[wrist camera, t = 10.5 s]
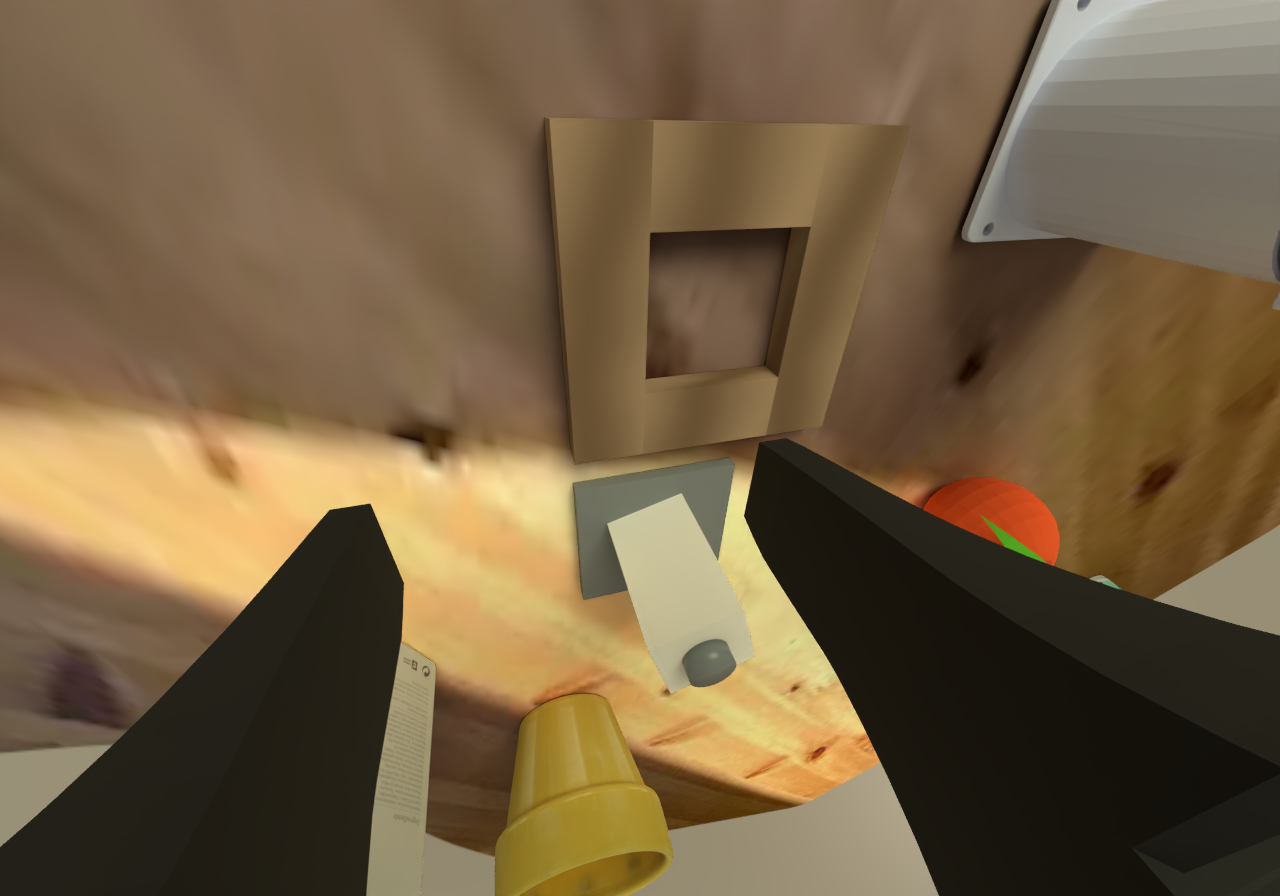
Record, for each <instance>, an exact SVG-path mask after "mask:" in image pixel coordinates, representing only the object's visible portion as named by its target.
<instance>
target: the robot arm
mask: <svg viewBox="0 0 1280 896" xmlns="http://www.w3.org/2000/svg"><path fill="white" fill-rule="evenodd" d="M1078 1H1079V4H1078ZM1077 4H1078V5H1077ZM985 226H986V227H985ZM984 228H985V229H984ZM983 230H984V231H983ZM1069 237H1071V238H1076V239H1080V240H1084V241H1089V242H1093V243H1098V244H1102V245H1107V246H1111V247H1116V248H1120V249H1125V250H1129V251H1134V252H1138V253H1142V254H1147V255H1151V256H1156V257H1160V258H1165V259H1169V260H1174V261H1178V262H1183V263H1187V264H1192V265H1196V266H1200V267H1205V268H1209V269H1214V270H1218V271H1223V272H1227V273H1232V274H1236V275H1241V276H1245V277H1250V278H1254V279H1258V280H1263V281H1267V282H1272V283H1276V284H1280V0H1052V1H1051V3H1050V6H1049V8H1048V11H1047V13H1046V16H1045V18H1044V21H1043V24H1042V26H1041V29H1040V31H1039V34H1038V36H1037V39H1036V42H1035V44H1034V47H1033V49H1032V52H1031V54H1030V57H1029V60H1028V62H1027V65H1026V67H1025V70H1024V72H1023V75H1022V77H1021V80H1020V83H1019V85H1018V88H1017V90H1016V93H1015V95H1014V98H1013V101H1012V103H1011V106H1010V108H1009V111H1008V113H1007V116H1006V119H1005V121H1004V124H1003V126H1002V129H1001V131H1000V134H999V136H998V139H997V142H996V144H995V147H994V149H993V152H992V154H991V157H990V160H989V162H988V165H987V167H986V170H985V172H984V175H983V178H982V180H981V183H980V185H979V188H978V190H977V193H976V195H975V198H974V201H973V203H972V206H971V208H970V211H969V213H968V216H967V219H966V221H965V224H964V226H963V229H962V238H963V240H965V241H969V242H992V241H1011V240H1030V239H1050V238H1069ZM1272 308H1273V309H1277V310H1280V290H1279V293H1278V295H1277V297H1276V298H1275V300H1274V302H1273V303H1272ZM744 517H745V519H746V522H747V524H748V526H749V528H750V531H751V533H752V535H753V537H754V540H755V542H756V544H757V546H758V548H759V550H760V552H761V554H762V556H763V558H764V560H765V561H766V563H767V565H768V566H769V568H770V570H771V571H772V573H773V574H774V576H775V577H776V579H777V581H778V582H779V584H780V585H781V587H782V589H783V590H784V592H785V593H786V595H787V596H788V598H789V599H790V601H791V603H792V604H793V606H794V607H795V609H796V610H797V612H798V613H799V615H800V616H801V618H802V620H803V621H804V623H805V624H806V626H807V627H808V629H809V630H810V632H811V634H812V635H813V637H814V638H815V640H816V641H817V643H818V644H819V646H820V648H821V649H822V651H823V652H824V654H825V656H826V657H827V659H828V661H829V662H830V664H831V666H832V667H833V669H834V671H835V672H836V674H837V676H838V678H839V680H840V682H841V684H842V686H843V688H844V690H845V692H846V693H847V695H848V697H849V699H850V701H851V703H852V705H853V707H854V709H855V711H856V713H857V715H858V717H859V719H860V721H861V722H862V724H863V727H864V729H865V731H866V733H867V735H868V737H869V739H870V741H871V743H872V745H873V747H874V749H875V751H876V753H877V756H878V758H879V760H880V762H881V764H882V766H883V768H884V770H885V772H886V774H887V776H888V778H889V780H890V783H891V785H892V787H893V790H894V792H895V794H896V796H897V798H898V801H899V803H900V805H901V807H902V809H903V812H904V814H905V816H906V819H907V821H908V823H909V825H910V827H911V830H912V832H913V834H914V836H915V839H916V841H917V843H918V846H919V848H920V851H921V853H922V855H923V858H924V860H925V863H926V865H927V867H928V870H929V872H930V875H931V877H932V880H933V882H934V885H935V887H936V889H937V892H938V894H939V896H1280V636H1279V635H1275V634H1271V633H1267V632H1263V631H1259V630H1255V629H1251V628H1248V627H1244V626H1240V625H1236V624H1232V623H1229V622H1225V621H1222V620H1218V619H1215V618H1211V617H1208V616H1205V615H1201V614H1198V613H1194V612H1191V611H1188V610H1185V609H1181V608H1178V607H1174V606H1171V605H1168V604H1164V603H1161V602H1157V601H1154V600H1151V599H1148V598H1145V597H1142V596H1139V595H1136V594H1133V593H1130V592H1126V591H1123V590H1120V589H1117V588H1114V587H1111V586H1108V585H1105V584H1103V583H1100V582H1097V581H1094V580H1091V579H1088V578H1086V577H1083V576H1080V575H1077V574H1074V573H1071V572H1069V571H1066V570H1063V569H1060V568H1057V567H1055V566H1052V565H1049V564H1047V563H1044V562H1041V561H1039V560H1036V559H1034V558H1031V557H1028V556H1026V555H1024V554H1021V553H1019V552H1016V551H1014V550H1011V549H1009V548H1007V547H1004V546H1002V545H999V544H997V543H995V542H992V541H990V540H987V539H985V538H983V537H980V536H978V535H976V534H973V533H971V532H969V531H967V530H964V529H962V528H960V527H958V526H956V525H954V524H952V523H949V522H947V521H945V520H943V519H941V518H939V517H937V516H935V515H933V514H931V513H929V512H927V511H925V510H922V509H920V508H918V507H916V506H914V505H912V504H910V503H908V502H907V501H905V500H903V499H901V498H899V497H897V496H895V495H893V494H891V493H889V492H887V491H885V490H883V489H882V488H880V487H878V486H876V485H874V484H872V483H870V482H868V481H867V480H865V479H863V478H861V477H859V476H857V475H856V474H854V473H852V472H850V471H848V470H846V469H845V468H843V467H841V466H839V465H837V464H835V463H834V462H832V461H830V460H828V459H826V458H824V457H823V456H821V455H819V454H817V453H815V452H813V451H811V450H809V449H807V448H805V447H803V446H801V445H799V444H797V443H795V442H793V441H791V440H789V439H787V438H785V439H779V440H772V441H766V442H760V443H759V447H758V452H757V456H756V461H755V466H754V471H753V476H752V480H751V485H750V490H749V495H748V500H747V504H746V509H745V514H744ZM403 591H404V582H403V580H402V578H401V575H400V573H399V570H398V568H397V566H396V563H395V561H394V559H393V556H392V554H391V551H390V549H389V547H388V544H387V542H386V540H385V537H384V535H383V532H382V530H381V528H380V525H379V523H378V521H377V518H376V516H375V513H374V511H373V509H372V506H371V504H365V505H358V506H352V507H345V508H339V509H333V510H329V511H328V513H327V514H326V515H325V516H324V517H323V518H322V519H321V520H320V522H319V523H318V524H317V525H316V526H315V527H314V529H313V530H312V531H311V532H310V533H309V534H308V536H307V537H306V538H305V539H304V540H303V541H302V543H301V544H300V545H299V546H298V547H297V549H296V550H295V551H294V552H293V553H292V554H291V556H290V557H289V558H288V559H287V560H286V561H285V563H284V564H283V565H282V566H281V567H280V568H279V570H278V571H277V572H276V573H275V574H274V576H273V577H272V578H271V579H270V580H269V581H268V583H267V584H266V585H265V586H264V587H263V588H262V589H261V590H260V592H259V593H258V594H257V595H256V596H255V597H254V598H253V600H252V601H251V602H250V603H249V604H248V605H247V606H246V607H245V609H244V610H243V611H242V612H241V613H240V614H239V615H238V617H237V618H236V619H235V620H234V621H233V622H232V623H231V624H230V626H229V627H228V628H227V629H226V630H225V631H224V632H223V633H222V634H221V635H220V636H219V637H218V638H217V639H216V640H215V642H214V643H213V644H212V645H211V646H210V647H209V648H208V649H207V650H206V651H205V652H204V653H203V654H202V655H201V656H200V657H199V658H198V659H197V661H196V662H195V663H194V664H193V665H192V666H191V667H190V668H189V669H188V670H187V671H186V672H185V673H184V674H183V675H182V676H181V677H180V678H179V679H178V681H177V682H176V683H175V684H174V685H173V686H172V687H171V688H170V689H169V690H168V691H167V692H166V693H165V694H164V695H163V696H162V697H161V698H160V699H159V700H158V701H157V702H156V703H155V704H154V705H153V706H152V707H151V708H150V709H149V710H148V711H147V712H146V713H145V714H144V715H143V716H142V717H141V718H140V719H139V720H138V721H137V722H136V723H135V724H134V725H133V726H132V727H131V728H130V729H129V730H128V731H127V732H126V733H125V734H124V735H123V736H122V737H121V738H120V739H119V740H118V741H117V742H116V743H115V744H113V745H112V746H111V747H110V748H109V749H108V750H107V751H106V752H105V753H104V754H103V755H102V756H101V757H100V758H98V759H97V760H96V761H95V762H94V763H93V764H92V765H91V766H90V767H89V768H88V769H87V770H86V771H84V773H82V774H81V775H80V776H79V777H78V778H77V779H76V780H75V781H74V782H73V783H72V784H71V785H69V786H68V787H67V788H66V789H65V790H64V791H63V792H62V793H61V794H60V795H59V796H58V797H57V798H55V799H54V800H53V801H52V802H51V803H50V804H49V805H48V806H47V807H46V808H44V809H43V810H42V811H41V812H40V813H39V814H38V815H37V816H36V817H34V818H33V819H32V820H31V821H30V822H29V823H28V824H26V825H25V826H24V827H23V828H22V829H21V830H19V831H18V832H17V833H16V834H15V835H14V836H13V837H11V838H10V839H9V840H8V841H7V842H6V843H4V844H3V845H2V846H1V847H0V896H366V894H367V880H368V867H369V854H370V842H371V829H372V816H373V808H374V800H375V793H376V785H377V778H378V772H379V767H380V761H381V755H382V750H383V744H384V738H385V732H386V727H387V721H388V715H389V710H390V704H391V698H392V693H393V687H394V681H395V675H396V669H397V663H398V657H399V651H400V645H401V638H402V620H403Z"/></svg>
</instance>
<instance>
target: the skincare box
mask: <svg viewBox="0 0 1280 896" xmlns="http://www.w3.org/2000/svg"><path fill="white" fill-rule="evenodd" d="M435 678H436V665H435V664H434V663H433V662H432V661H430V660H429V659H427V658H426V657H425V656H423V655H422V654H420V653H419V652H417V651H416V650H414V649H412V648H411V647H409V646H407V645H406V644H404V643H403V642H401V645H400V651H399V657H398V663H397V669H396V675H395V681H394V687H393V693H392V698H391V704H390V710H389V715H388V721H387V727H386V732H385V738H384V744H383V750H382V755H381V761H380V767H379V772H378V778H377V785H376V793H375V800H374V808H373V816H372V829H371V842H370V854H369V867H368V880H367V894H366V896H421V888H422V871H423V858H424V845H425V828H426V813H427V798H428V784H429V768H430V753H431V739H432V724H433V709H434V693H435Z"/></svg>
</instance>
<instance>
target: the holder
mask: <svg viewBox="0 0 1280 896" xmlns="http://www.w3.org/2000/svg"><path fill="white" fill-rule="evenodd" d="M544 121H545V133H546V146H547V159H548V171H549V184H550V197H551V209H552V222H553V235H554V247H555V260H556V273H557V285H558V298H559V311H560V323H561V336H562V349H563V361H564V374H565V387H566V399H567V412H568V425H569V437H570V449H571V452H572V456H573V459H574V463H575V464H581V463H588V462H594V461H601V460H607V459H614V458H620V457H627V456H633V455H640V454H647V453H653V452H660V451H666V450H673V449H679V448H686V447H692V446H699V445H705V444H712V443H718V442H725V441H731V440H738V439H744V438H751V437H757V436H764V435H770V434H777V433H783V432H790V431H796V430H803V429H809V428H816V427H822V424H823V420H824V417H825V414H826V410H827V407H828V403H829V400H830V397H831V393H832V390H833V386H834V383H835V380H836V376H837V373H838V370H839V366H840V363H841V359H842V356H843V353H844V349H845V346H846V342H847V339H848V336H849V332H850V329H851V326H852V322H853V319H854V315H855V312H856V309H857V305H858V302H859V298H860V295H861V292H862V288H863V285H864V282H865V278H866V275H867V271H868V268H869V265H870V261H871V258H872V255H873V251H874V248H875V244H876V241H877V238H878V234H879V231H880V227H881V224H882V221H883V217H884V214H885V211H886V207H887V204H888V200H889V197H890V194H891V190H892V187H893V183H894V180H895V177H896V173H897V170H898V167H899V163H900V160H901V156H902V153H903V150H904V146H905V143H906V139H907V136H908V133H909V129H910V126H896V125H864V124H817V123H770V122H723V121H677V120H630V119H583V118H544ZM786 227H792V229H791V234H790V239H789V244H788V249H787V254H786V260H785V265H784V270H783V275H782V280H781V285H780V290H779V296H778V301H777V306H776V311H775V316H774V321H773V327H772V332H771V337H770V342H769V347H768V352H767V357H766V363H765V366H757V367H749V368H740V369H731V370H722V371H714V372H705V373H696V374H687V375H679V376H670V377H661V378H652V379H645V376H646V346H647V315H648V284H649V253H650V233H654V232H680V231H707V230H733V229H759V228H786Z"/></svg>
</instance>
